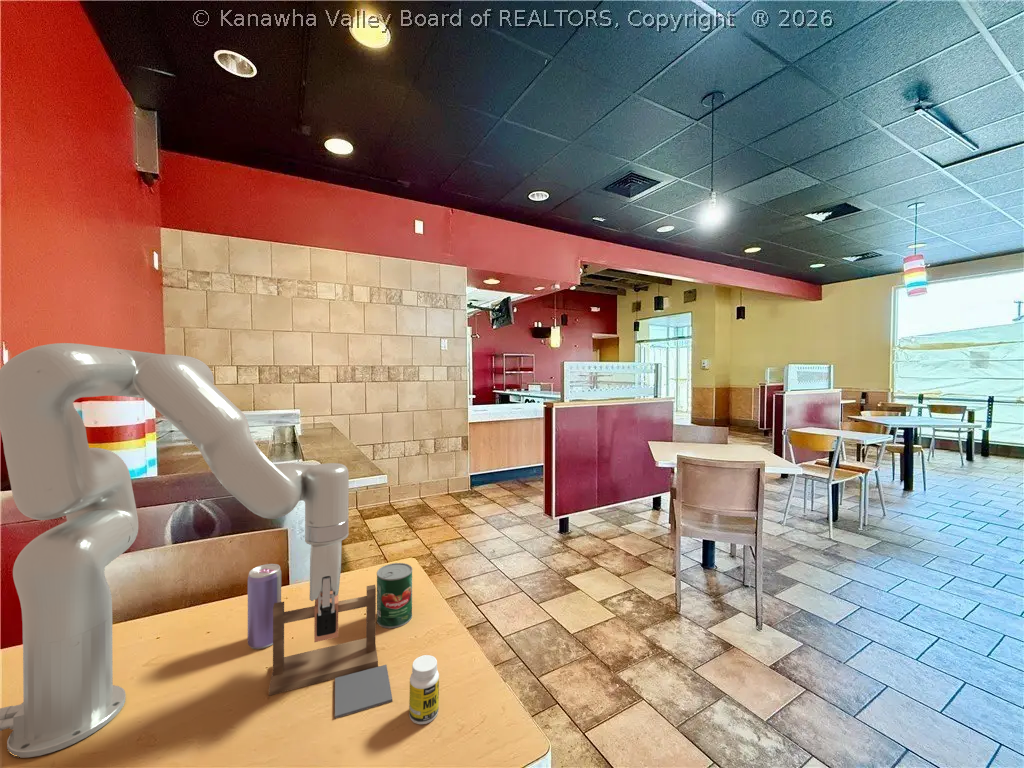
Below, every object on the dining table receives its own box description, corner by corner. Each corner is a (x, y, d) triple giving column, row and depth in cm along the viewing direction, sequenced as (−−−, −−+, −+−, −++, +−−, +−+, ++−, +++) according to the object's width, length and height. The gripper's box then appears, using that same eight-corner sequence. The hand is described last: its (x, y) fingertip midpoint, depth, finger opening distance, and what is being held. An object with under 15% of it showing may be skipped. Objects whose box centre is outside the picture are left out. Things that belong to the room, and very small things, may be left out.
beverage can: (265, 652, 81) (265, 578, 80) (240, 648, 82) (240, 574, 82) (287, 634, 86) (287, 564, 86) (263, 630, 88) (264, 561, 87)
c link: (314, 642, 74) (314, 607, 74) (315, 626, 78) (315, 593, 78) (338, 636, 75) (338, 603, 75) (338, 621, 80) (338, 589, 80)
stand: (268, 695, 70) (269, 617, 70) (275, 665, 77) (275, 594, 77) (377, 666, 77) (378, 596, 77) (374, 641, 84) (374, 577, 84)
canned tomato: (397, 604, 98) (397, 559, 98) (419, 615, 94) (419, 568, 93) (369, 620, 92) (369, 572, 92) (391, 633, 87) (391, 582, 87)
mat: (334, 718, 65) (334, 716, 65) (335, 680, 73) (335, 678, 73) (392, 701, 69) (392, 699, 69) (386, 666, 77) (386, 664, 77)
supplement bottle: (424, 730, 63) (424, 677, 63) (403, 717, 66) (403, 666, 66) (444, 709, 67) (445, 659, 67) (424, 697, 70) (424, 649, 70)
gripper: (307, 517, 83) (307, 604, 83) (301, 551, 67) (300, 658, 67) (347, 513, 86) (346, 597, 86) (349, 544, 70) (349, 646, 70)
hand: (326, 623), depth 77 cm, fingers open, 5 cm apart
